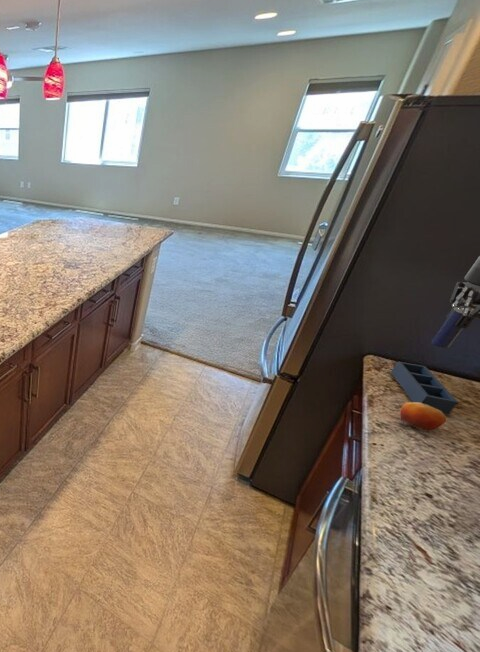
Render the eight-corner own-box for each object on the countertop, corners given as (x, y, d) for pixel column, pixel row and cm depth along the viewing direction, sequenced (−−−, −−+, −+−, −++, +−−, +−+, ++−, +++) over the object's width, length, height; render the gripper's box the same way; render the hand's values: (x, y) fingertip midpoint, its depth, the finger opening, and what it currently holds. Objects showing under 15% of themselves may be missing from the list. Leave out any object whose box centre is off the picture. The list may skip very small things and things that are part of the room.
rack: (417, 377, 124) (425, 366, 121) (448, 414, 110) (458, 402, 107) (390, 372, 126) (397, 361, 124) (417, 407, 112) (426, 396, 110)
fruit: (396, 423, 105) (411, 398, 104) (390, 422, 111) (405, 397, 110) (439, 440, 100) (455, 413, 99) (431, 437, 106) (446, 412, 105)
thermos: (444, 342, 113) (471, 306, 107) (452, 349, 110) (479, 313, 104) (427, 339, 114) (452, 304, 108) (434, 346, 111) (460, 310, 105)
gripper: (537, 279, 93) (490, 339, 101) (498, 259, 104) (458, 314, 112) (494, 275, 95) (451, 333, 104) (460, 256, 106) (424, 310, 115)
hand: (455, 323), depth 108 cm, fingers closed on thermos, 3 cm apart
